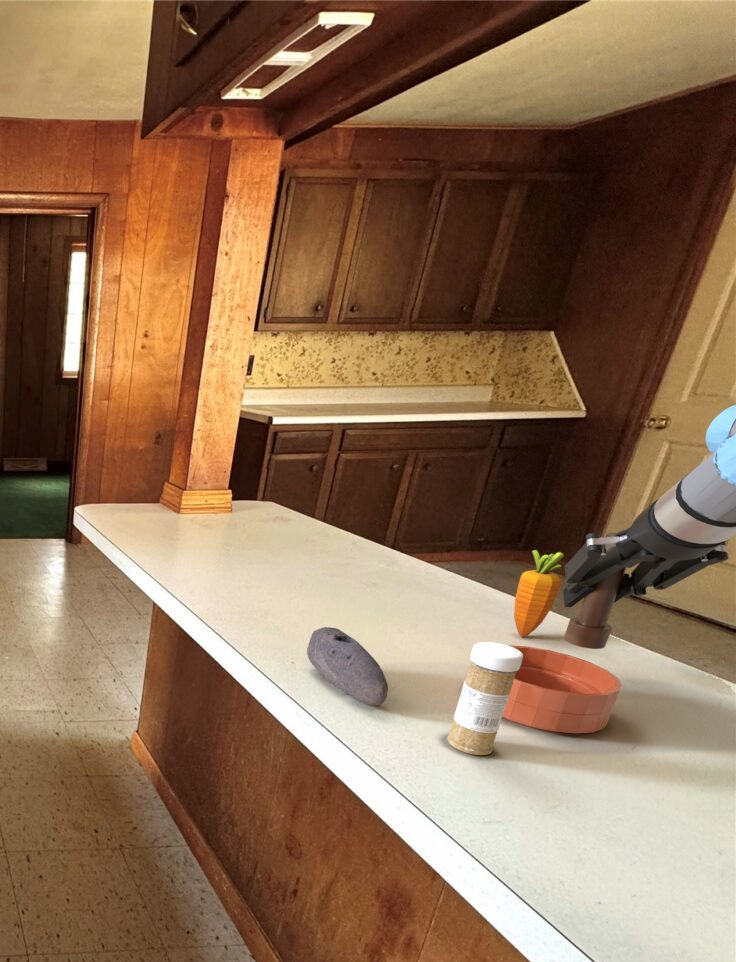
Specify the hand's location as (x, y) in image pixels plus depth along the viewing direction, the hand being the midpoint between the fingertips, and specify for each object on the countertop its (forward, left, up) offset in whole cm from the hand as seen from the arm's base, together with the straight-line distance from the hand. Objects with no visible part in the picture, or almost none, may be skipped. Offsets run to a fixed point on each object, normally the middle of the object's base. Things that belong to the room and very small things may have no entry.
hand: (583, 599), depth 96 cm
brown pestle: (-1, +4, -5) cm, 6 cm away
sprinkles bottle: (+13, +33, -11) cm, 37 cm away
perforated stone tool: (+27, +24, -11) cm, 38 cm away
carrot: (+3, -9, -11) cm, 14 cm away
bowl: (+5, +18, -11) cm, 21 cm away
